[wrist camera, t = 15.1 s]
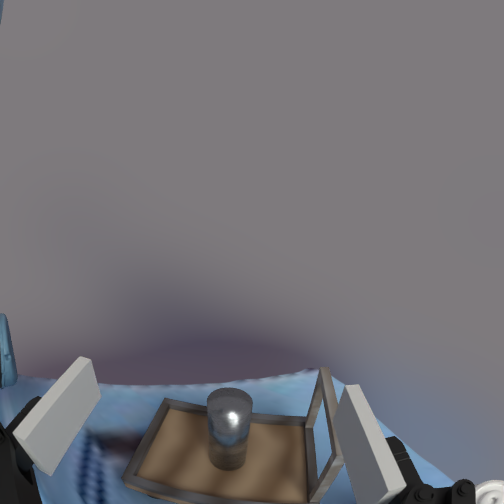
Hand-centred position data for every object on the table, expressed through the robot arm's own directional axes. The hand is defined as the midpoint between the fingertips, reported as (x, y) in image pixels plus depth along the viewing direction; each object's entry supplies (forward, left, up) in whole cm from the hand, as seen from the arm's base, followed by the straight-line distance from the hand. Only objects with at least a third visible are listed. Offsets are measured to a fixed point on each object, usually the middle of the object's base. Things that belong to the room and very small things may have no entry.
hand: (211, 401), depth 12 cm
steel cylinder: (-1, +13, -24) cm, 27 cm away
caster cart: (-1, +13, -30) cm, 33 cm away
